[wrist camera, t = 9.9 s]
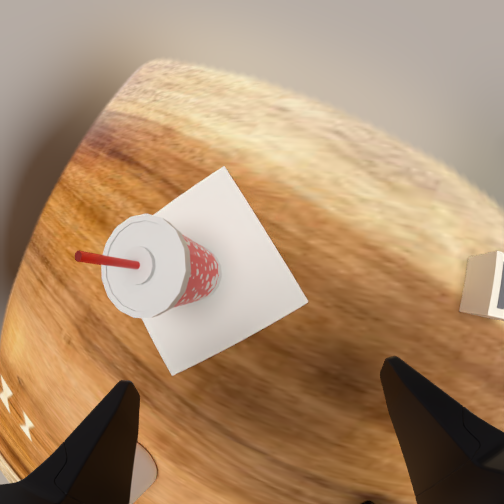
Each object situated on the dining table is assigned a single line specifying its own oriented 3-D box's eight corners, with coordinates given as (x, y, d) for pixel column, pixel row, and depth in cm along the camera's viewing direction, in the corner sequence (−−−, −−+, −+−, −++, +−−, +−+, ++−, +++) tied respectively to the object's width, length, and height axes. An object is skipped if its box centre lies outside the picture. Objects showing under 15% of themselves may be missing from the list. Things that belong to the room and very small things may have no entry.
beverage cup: (245, 278, 23) (159, 266, 10) (192, 323, 24) (73, 352, 10) (202, 224, 25) (96, 161, 11) (154, 268, 25) (29, 249, 11)
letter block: (493, 319, 19) (524, 323, 14) (458, 311, 20) (488, 315, 15) (502, 268, 19) (533, 264, 14) (467, 257, 20) (497, 250, 15)
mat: (308, 301, 23) (308, 302, 22) (175, 374, 24) (172, 375, 23) (226, 168, 25) (224, 166, 25) (114, 248, 27) (111, 247, 26)
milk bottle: (137, 429, 24) (0, 511, 5) (170, 481, 23) (68, 583, 3) (96, 435, 25) (-23, 492, 6) (126, 483, 24) (28, 556, 4)
